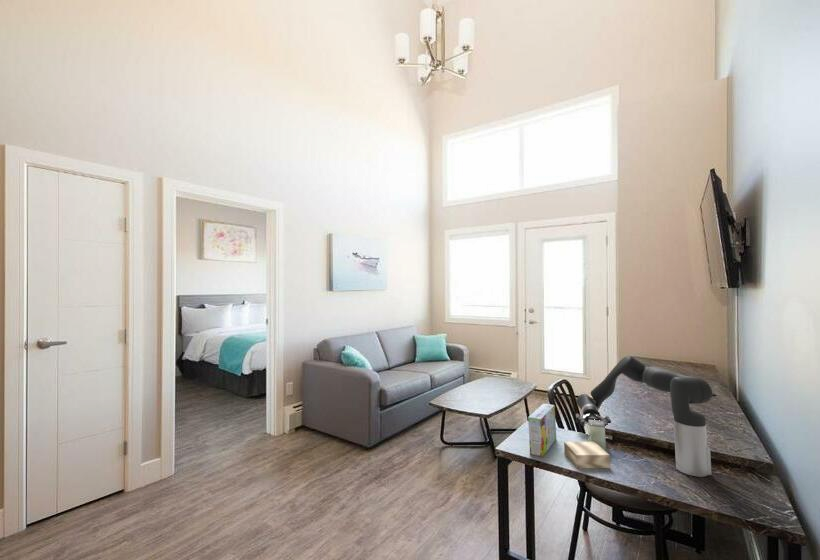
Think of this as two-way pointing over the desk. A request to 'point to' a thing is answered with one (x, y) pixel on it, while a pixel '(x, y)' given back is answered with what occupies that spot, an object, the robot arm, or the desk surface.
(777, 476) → the desk surface
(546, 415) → the snack box
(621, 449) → the desk surface
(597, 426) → the tea tin
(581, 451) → the birch block
